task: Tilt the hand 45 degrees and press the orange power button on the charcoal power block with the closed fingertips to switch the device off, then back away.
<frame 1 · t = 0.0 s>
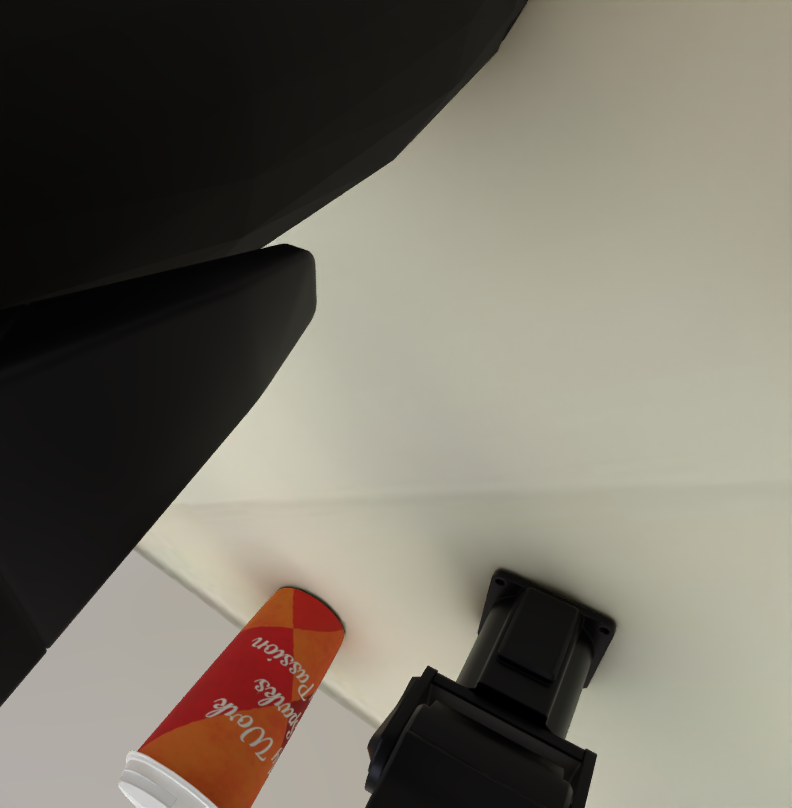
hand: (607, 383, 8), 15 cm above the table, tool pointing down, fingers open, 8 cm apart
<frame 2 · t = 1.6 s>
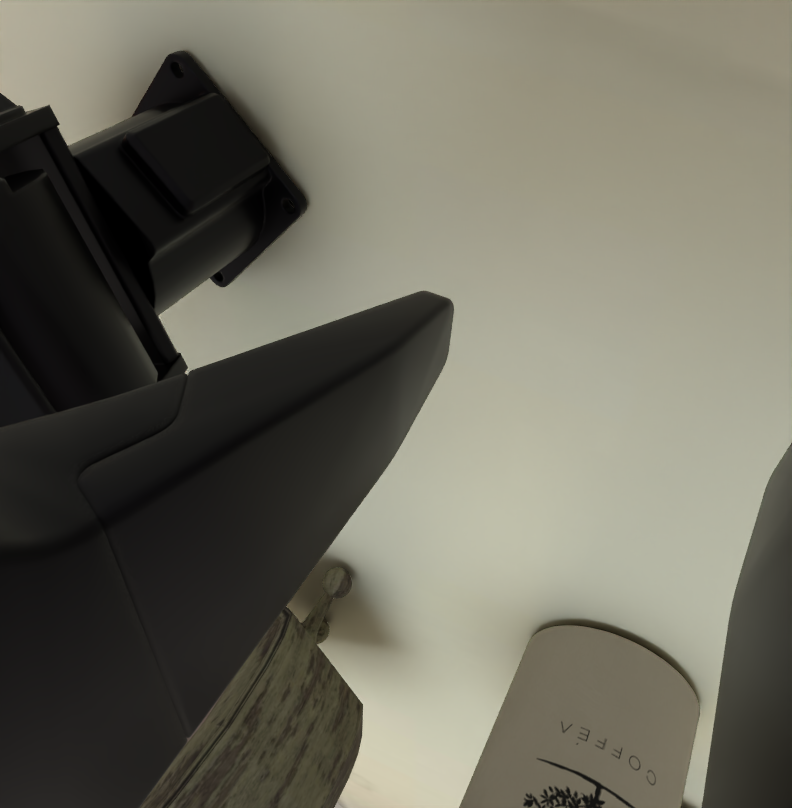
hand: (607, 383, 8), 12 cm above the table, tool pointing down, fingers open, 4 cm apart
travel mug: (611, 672, 33), on the table
tabletop clock: (308, 595, 43), on the table
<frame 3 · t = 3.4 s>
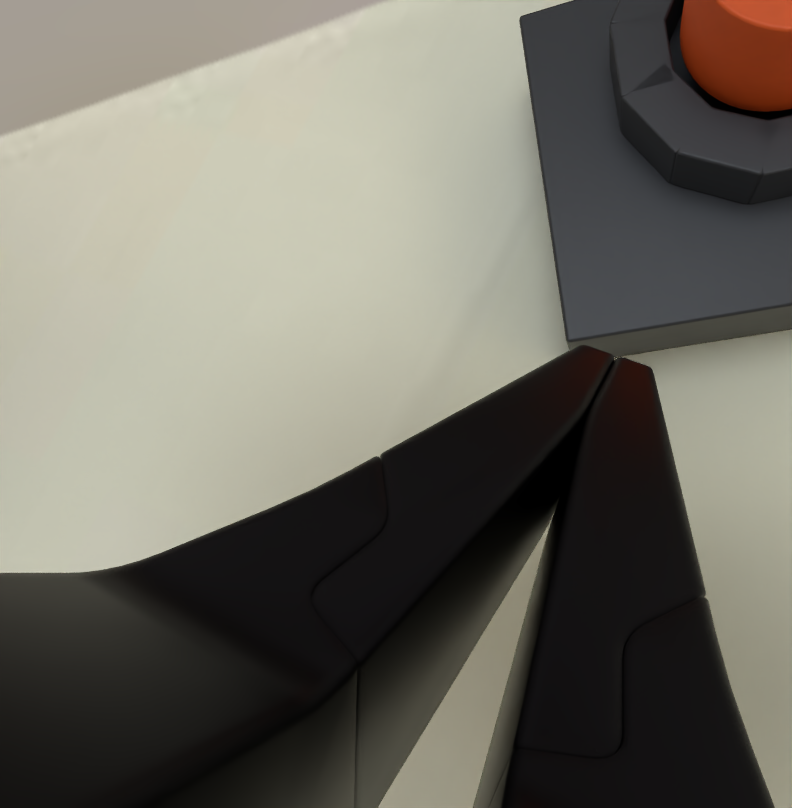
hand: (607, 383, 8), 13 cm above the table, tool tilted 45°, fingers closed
power block: (747, 180, 20), on the table
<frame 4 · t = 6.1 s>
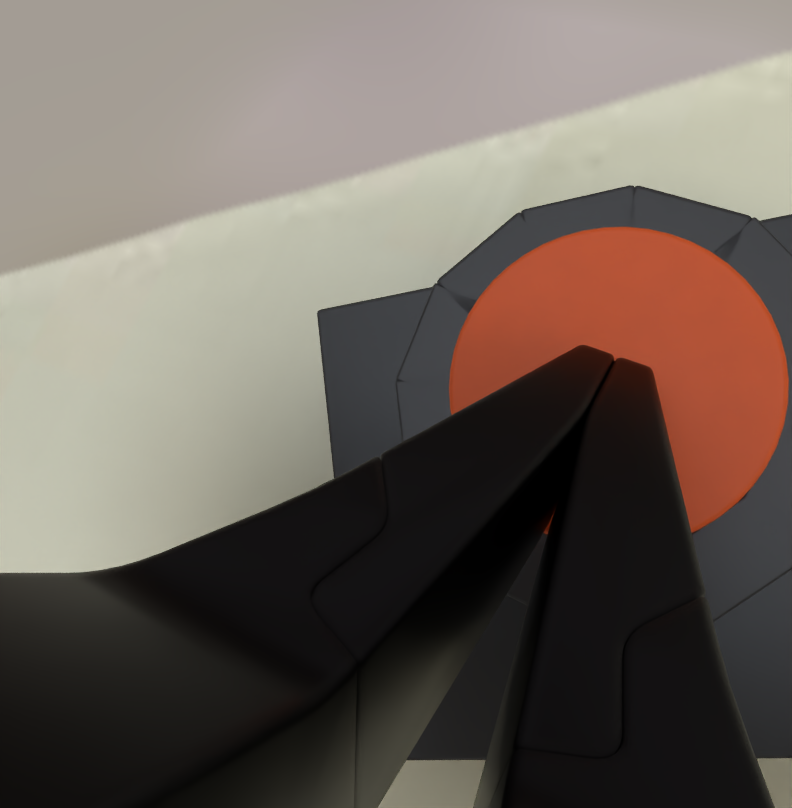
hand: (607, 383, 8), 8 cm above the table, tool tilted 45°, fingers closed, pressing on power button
power block: (620, 490, 16), on the table
power button: (608, 396, 10), point 7 cm above the table, slide at 0.0 cm, touching gripper
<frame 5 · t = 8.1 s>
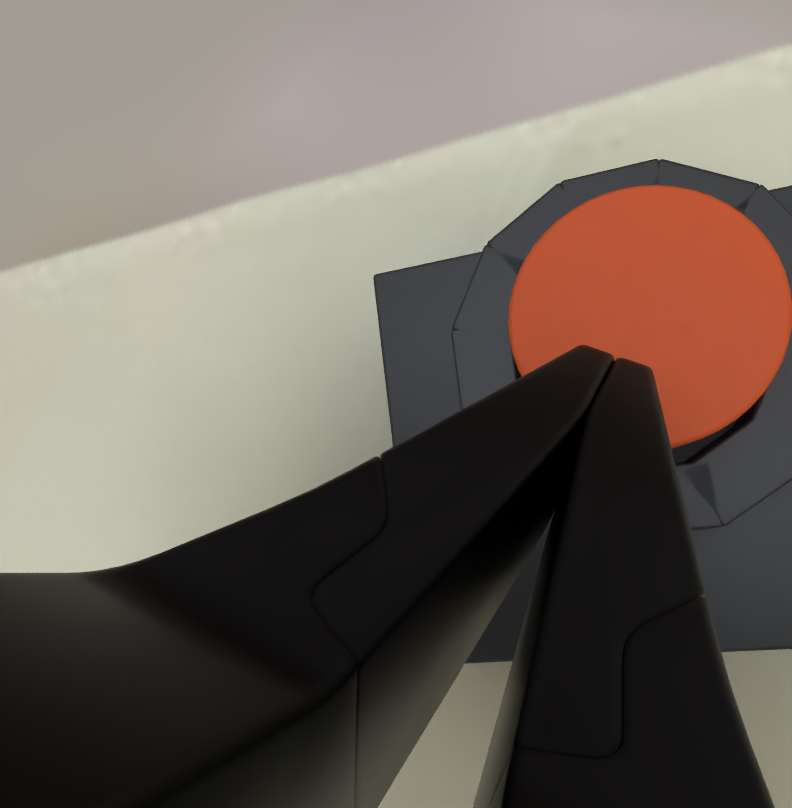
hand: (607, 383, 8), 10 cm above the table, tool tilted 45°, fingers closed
power block: (640, 437, 18), on the table
power button: (639, 333, 12), point 7 cm above the table, slide at 0.1 cm
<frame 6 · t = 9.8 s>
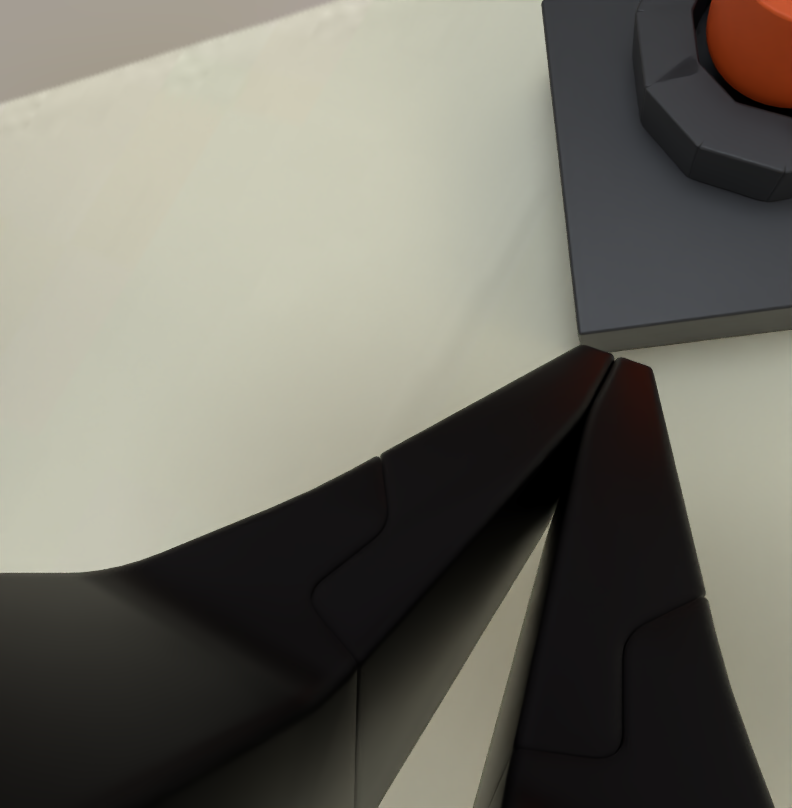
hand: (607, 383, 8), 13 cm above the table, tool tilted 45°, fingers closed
power block: (763, 176, 20), on the table
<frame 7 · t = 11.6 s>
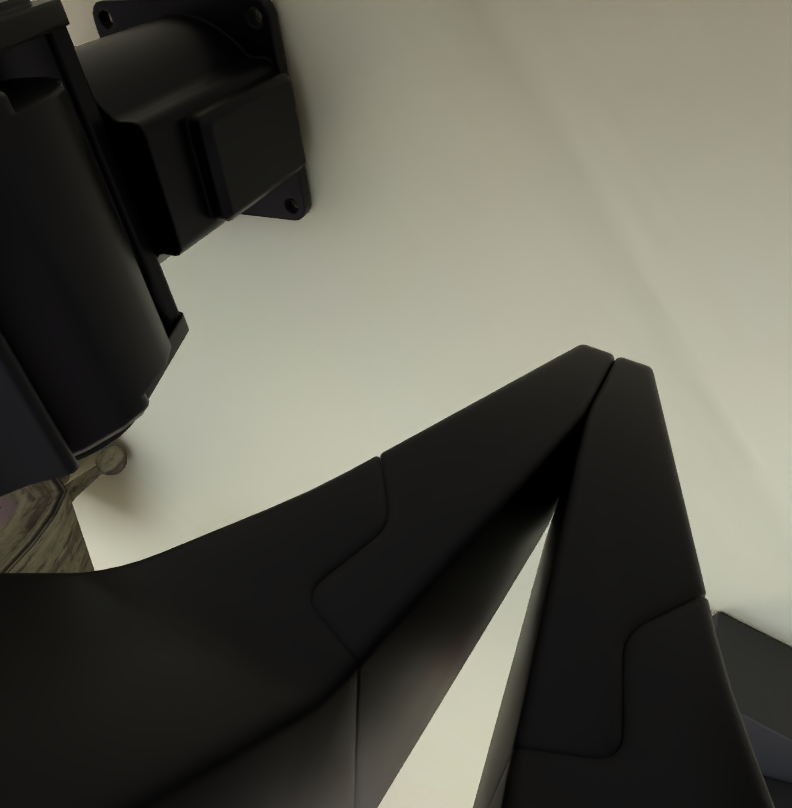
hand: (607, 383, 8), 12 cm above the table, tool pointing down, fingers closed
power block: (751, 720, 30), on the table
tabletop clock: (60, 442, 42), on the table
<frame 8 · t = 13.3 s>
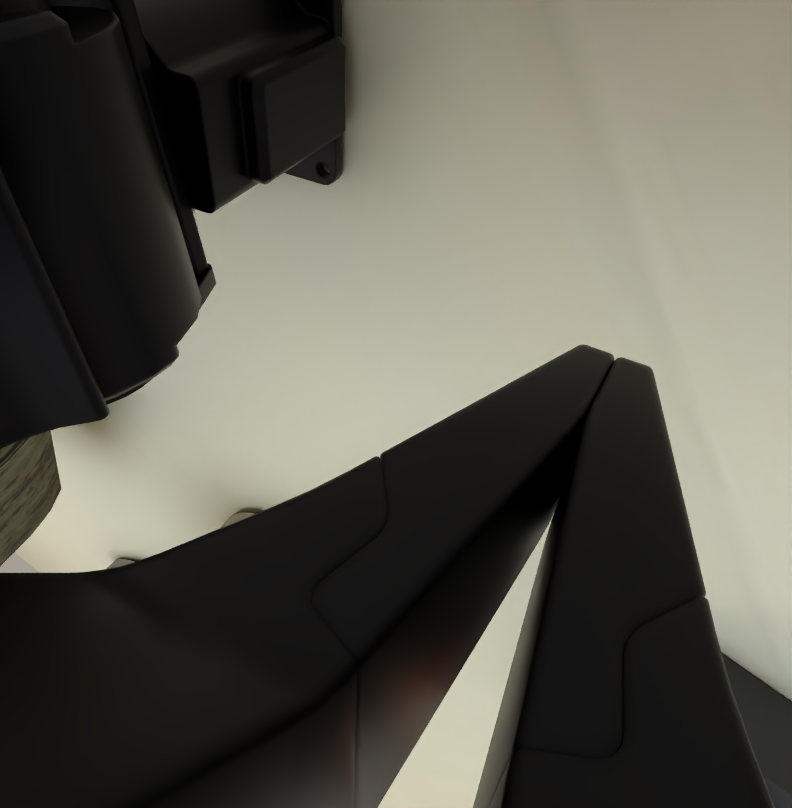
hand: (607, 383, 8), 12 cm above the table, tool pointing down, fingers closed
power block: (674, 712, 32), on the table
tabletop clock: (38, 356, 41), on the table
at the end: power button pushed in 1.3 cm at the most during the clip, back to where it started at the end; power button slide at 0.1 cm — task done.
